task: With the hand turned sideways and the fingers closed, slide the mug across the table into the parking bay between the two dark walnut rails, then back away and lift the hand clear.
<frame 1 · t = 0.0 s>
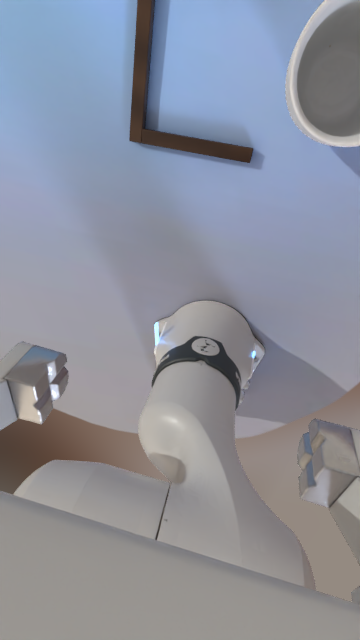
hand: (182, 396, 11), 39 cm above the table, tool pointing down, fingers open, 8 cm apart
mug: (342, 88, 36), on the table
bay rails: (209, 67, 38), on the table
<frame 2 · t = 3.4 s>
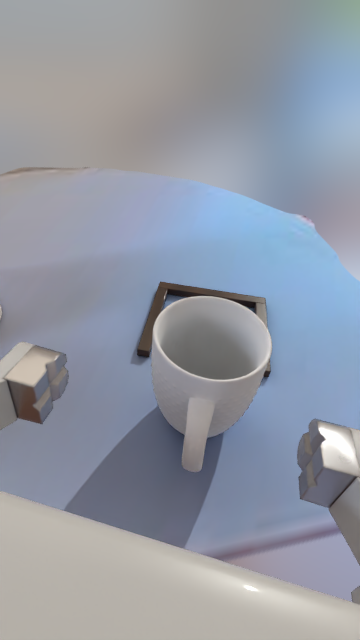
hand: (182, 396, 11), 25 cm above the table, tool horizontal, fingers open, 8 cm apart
mug: (195, 420, 38), on the table
bay rails: (206, 330, 49), on the table
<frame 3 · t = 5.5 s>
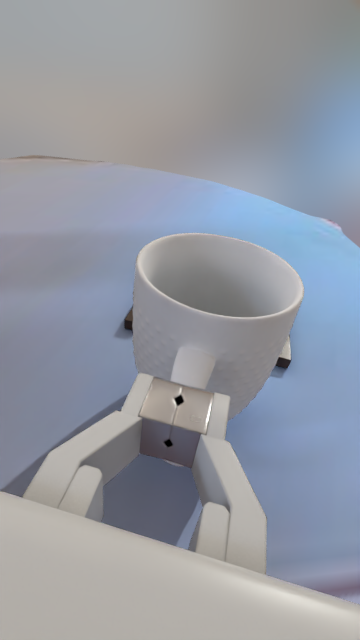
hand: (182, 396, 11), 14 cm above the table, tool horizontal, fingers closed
mug: (188, 408, 28), on the table
bay rails: (213, 311, 40), on the table
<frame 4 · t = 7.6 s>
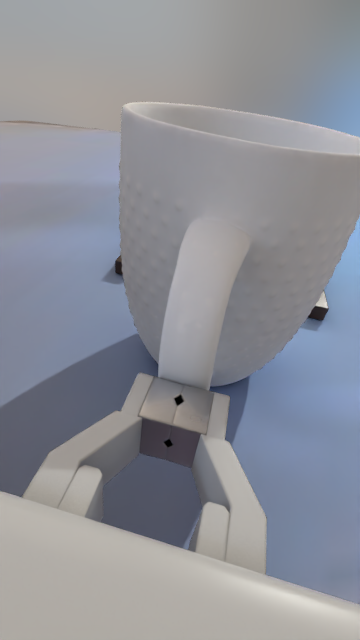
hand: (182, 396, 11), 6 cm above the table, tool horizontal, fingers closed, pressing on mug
mug: (197, 362, 21), on the table, touching gripper
bay rails: (225, 260, 33), on the table
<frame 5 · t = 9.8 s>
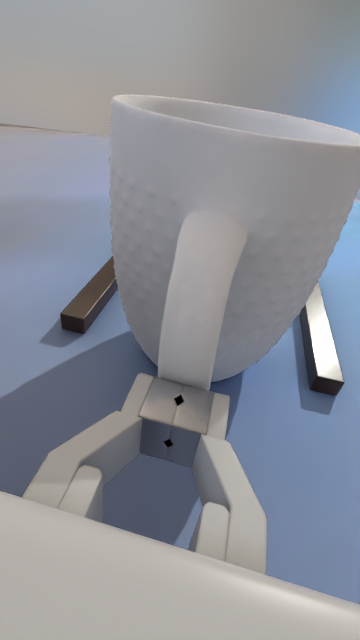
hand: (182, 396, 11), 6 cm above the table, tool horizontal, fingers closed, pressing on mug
mug: (191, 358, 21), on the table, touching gripper
bay rails: (209, 302, 26), on the table
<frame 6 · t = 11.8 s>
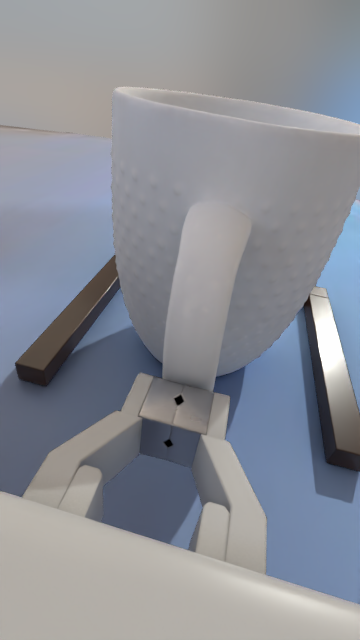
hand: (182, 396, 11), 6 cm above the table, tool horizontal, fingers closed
mug: (194, 353, 21), on the table
bay rails: (202, 337, 22), on the table
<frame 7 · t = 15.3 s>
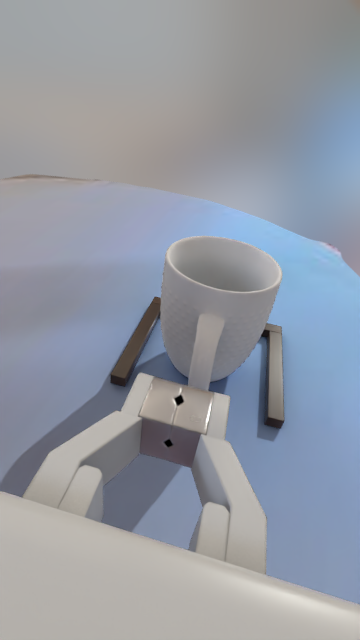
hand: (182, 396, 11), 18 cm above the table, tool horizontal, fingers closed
mug: (199, 368, 38), on the table
bay rails: (204, 359, 39), on the table
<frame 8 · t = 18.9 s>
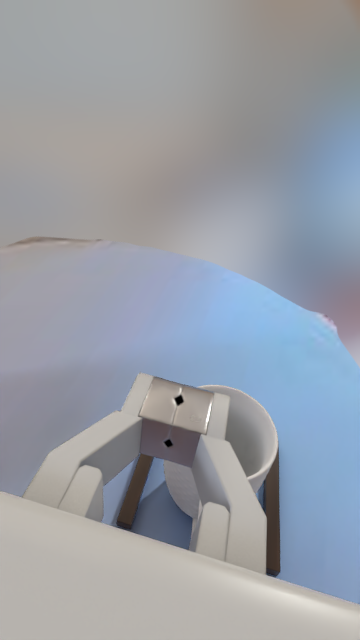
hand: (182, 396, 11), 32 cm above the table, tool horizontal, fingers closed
mug: (200, 499, 40), on the table
bay rails: (205, 486, 41), on the table
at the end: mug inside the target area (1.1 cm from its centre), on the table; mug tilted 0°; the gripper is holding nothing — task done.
